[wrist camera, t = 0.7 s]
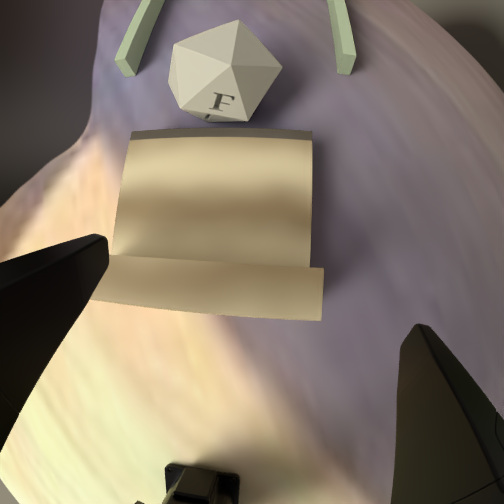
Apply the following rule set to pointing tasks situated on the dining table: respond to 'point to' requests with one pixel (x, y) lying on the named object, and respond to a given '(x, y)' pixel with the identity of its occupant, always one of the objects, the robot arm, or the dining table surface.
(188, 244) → the block
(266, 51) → the die
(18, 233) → the dining table surface
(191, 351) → the dining table surface
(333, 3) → the fence
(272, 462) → the dining table surface
